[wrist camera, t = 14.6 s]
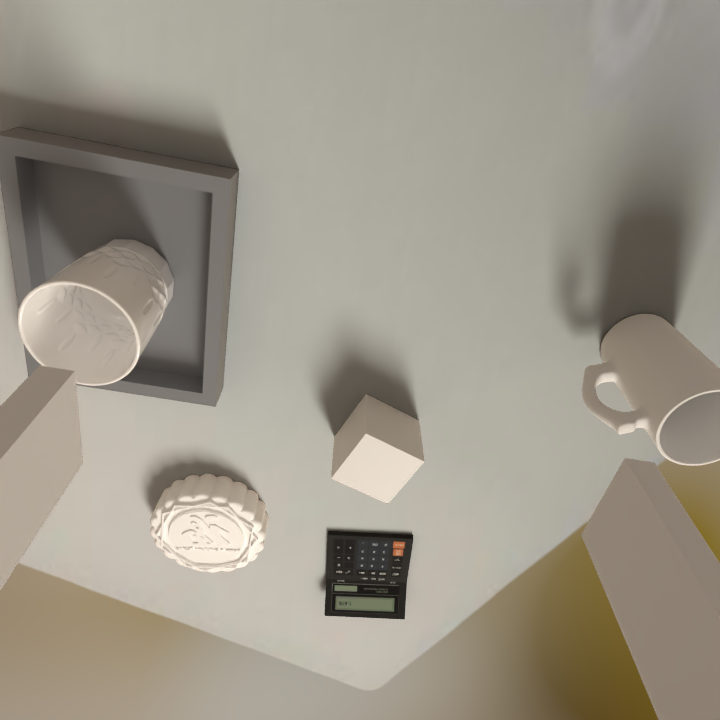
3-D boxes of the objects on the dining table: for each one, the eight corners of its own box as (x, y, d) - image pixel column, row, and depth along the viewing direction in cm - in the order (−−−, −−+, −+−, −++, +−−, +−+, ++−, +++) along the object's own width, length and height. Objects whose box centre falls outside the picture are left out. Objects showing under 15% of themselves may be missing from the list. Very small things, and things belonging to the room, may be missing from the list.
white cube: (385, 460, 57) (387, 504, 51) (334, 436, 55) (330, 478, 50) (419, 419, 54) (424, 461, 49) (365, 393, 52) (365, 433, 47)
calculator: (412, 532, 62) (414, 555, 60) (402, 598, 68) (404, 621, 66) (328, 528, 62) (326, 550, 59) (326, 595, 68) (324, 617, 65)
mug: (680, 304, 47) (767, 382, 37) (672, 370, 51) (750, 459, 40) (558, 323, 48) (610, 404, 38) (558, 386, 52) (606, 477, 41)
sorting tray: (17, 127, 40) (-7, 134, 38) (238, 169, 42) (230, 179, 39) (45, 359, 51) (28, 377, 48) (223, 387, 52) (215, 406, 49)
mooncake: (266, 473, 58) (260, 499, 55) (271, 552, 64) (266, 579, 61) (150, 469, 58) (138, 494, 55) (166, 549, 64) (156, 575, 61)
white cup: (152, 337, 48) (106, 405, 40) (67, 283, 46) (-2, 343, 37) (200, 271, 45) (161, 330, 37) (111, 209, 43) (46, 256, 34)
